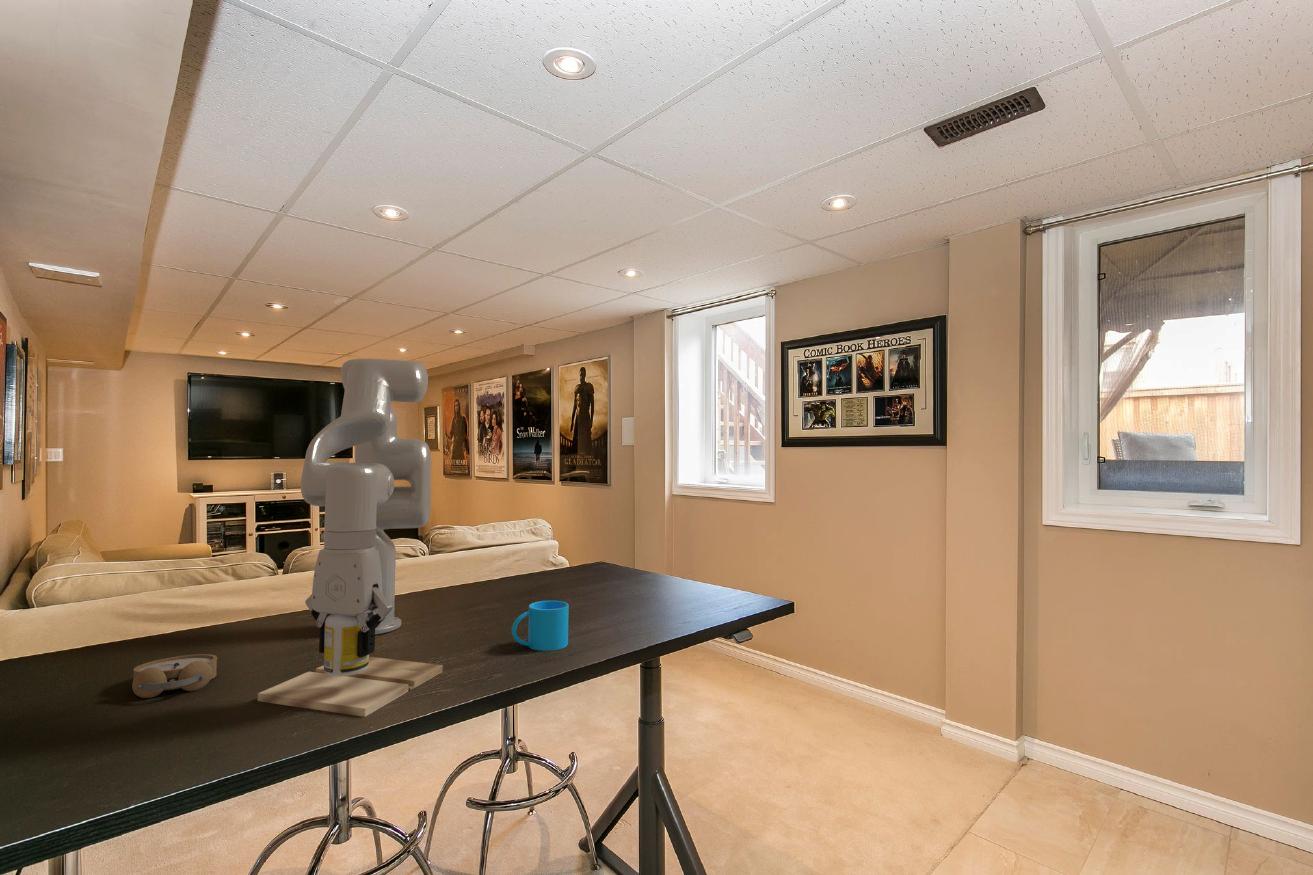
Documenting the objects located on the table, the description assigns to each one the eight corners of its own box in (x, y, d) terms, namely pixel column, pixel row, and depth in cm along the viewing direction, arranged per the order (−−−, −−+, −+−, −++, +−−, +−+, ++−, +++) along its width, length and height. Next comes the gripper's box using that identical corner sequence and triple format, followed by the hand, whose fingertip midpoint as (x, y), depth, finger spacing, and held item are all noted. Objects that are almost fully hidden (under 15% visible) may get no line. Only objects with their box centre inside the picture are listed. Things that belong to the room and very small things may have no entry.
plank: (257, 700, 96) (257, 693, 96) (308, 678, 106) (308, 671, 106) (365, 716, 91) (365, 708, 91) (408, 691, 101) (408, 684, 101)
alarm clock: (218, 650, 112) (215, 659, 99) (217, 679, 111) (214, 691, 99) (138, 661, 105) (124, 671, 93) (136, 691, 105) (122, 705, 92)
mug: (558, 636, 133) (559, 598, 133) (574, 647, 126) (575, 607, 126) (504, 645, 126) (505, 605, 127) (518, 656, 119) (519, 614, 120)
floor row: (311, 677, 107) (311, 670, 107) (349, 660, 115) (349, 654, 115) (410, 690, 102) (410, 682, 102) (442, 671, 110) (442, 665, 110)
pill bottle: (377, 666, 100) (379, 595, 101) (345, 680, 94) (348, 604, 94) (346, 661, 102) (348, 592, 103) (313, 674, 96) (316, 600, 97)
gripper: (287, 541, 97) (283, 654, 97) (379, 546, 93) (376, 665, 93) (323, 535, 105) (320, 641, 104) (411, 540, 100) (408, 650, 100)
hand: (346, 651), depth 98 cm, fingers closed on pill bottle, 6 cm apart
